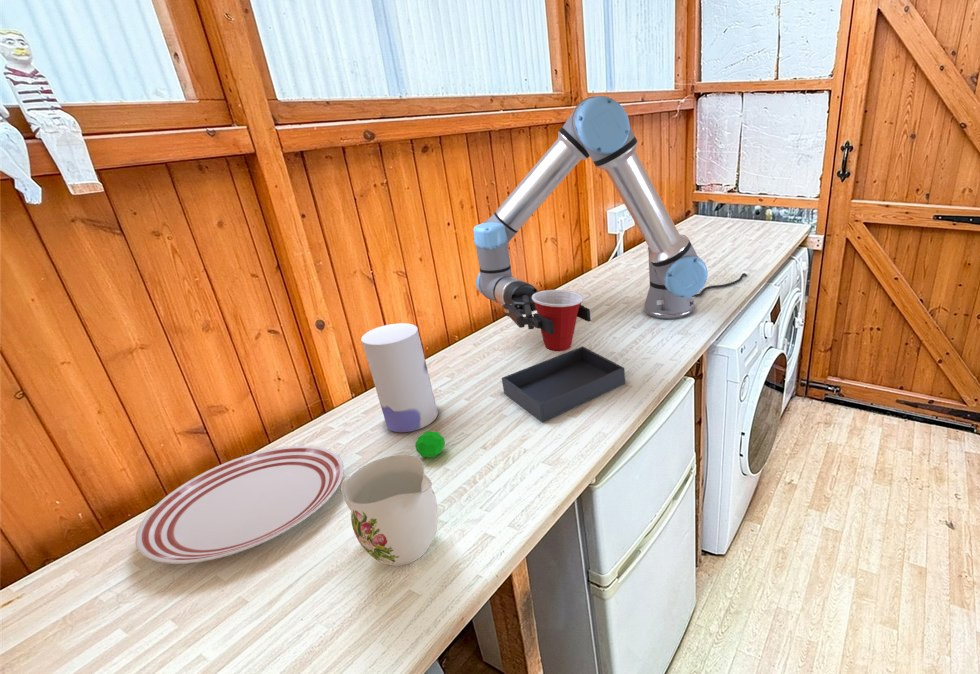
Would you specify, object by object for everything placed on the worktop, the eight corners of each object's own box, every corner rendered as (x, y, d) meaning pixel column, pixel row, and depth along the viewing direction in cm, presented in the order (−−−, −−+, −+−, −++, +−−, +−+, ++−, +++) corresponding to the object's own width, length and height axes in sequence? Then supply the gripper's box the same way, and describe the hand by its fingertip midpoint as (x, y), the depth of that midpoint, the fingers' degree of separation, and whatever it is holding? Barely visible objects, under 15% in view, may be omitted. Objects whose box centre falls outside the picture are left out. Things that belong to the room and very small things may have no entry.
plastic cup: (587, 337, 120) (587, 288, 115) (577, 359, 110) (577, 307, 105) (540, 332, 120) (539, 284, 115) (527, 354, 111) (524, 302, 105)
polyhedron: (430, 466, 94) (425, 444, 92) (412, 458, 97) (407, 437, 95) (452, 450, 98) (447, 430, 96) (434, 443, 101) (429, 423, 99)
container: (448, 410, 111) (428, 325, 103) (415, 436, 103) (390, 346, 95) (410, 403, 115) (388, 320, 106) (375, 428, 106) (348, 340, 98)
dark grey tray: (584, 360, 130) (582, 346, 129) (625, 383, 119) (624, 367, 118) (504, 393, 117) (501, 377, 115) (542, 422, 106) (539, 405, 104)
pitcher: (386, 506, 85) (364, 437, 80) (474, 535, 79) (457, 463, 73) (327, 556, 76) (296, 483, 70) (420, 594, 70) (396, 517, 64)
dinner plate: (294, 441, 103) (289, 427, 101) (381, 485, 90) (376, 470, 89) (115, 535, 82) (104, 519, 80) (194, 610, 69) (184, 592, 67)
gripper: (556, 298, 132) (611, 323, 117) (478, 322, 119) (528, 354, 104) (553, 270, 129) (609, 292, 114) (472, 292, 116) (523, 319, 101)
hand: (570, 321), depth 109 cm, fingers closed on plastic cup, 9 cm apart
